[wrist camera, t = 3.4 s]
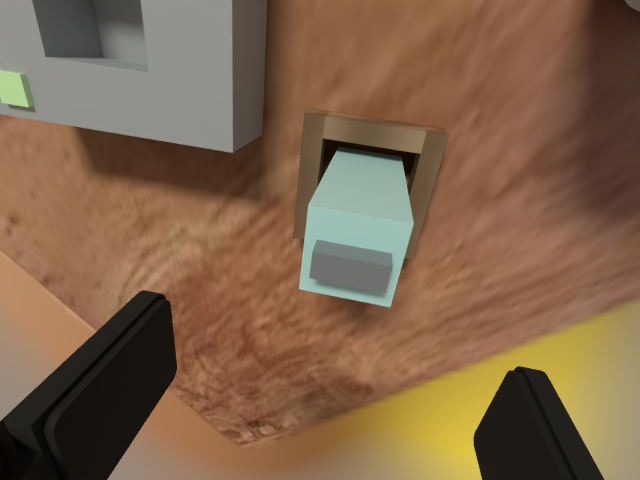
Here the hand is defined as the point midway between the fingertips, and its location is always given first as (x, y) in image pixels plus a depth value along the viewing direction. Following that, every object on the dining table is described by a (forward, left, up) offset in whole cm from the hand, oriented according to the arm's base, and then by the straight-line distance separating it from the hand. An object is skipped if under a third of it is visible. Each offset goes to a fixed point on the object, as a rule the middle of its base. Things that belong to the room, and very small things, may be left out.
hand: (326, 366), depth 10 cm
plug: (0, -1, -15) cm, 15 cm away
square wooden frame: (0, -1, -15) cm, 15 cm away
